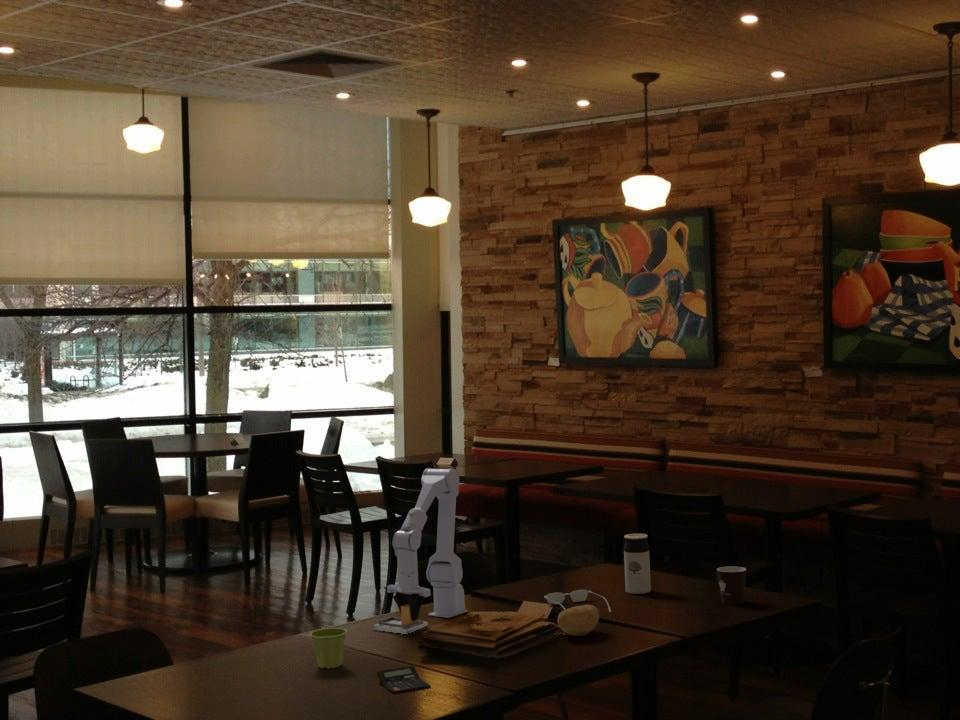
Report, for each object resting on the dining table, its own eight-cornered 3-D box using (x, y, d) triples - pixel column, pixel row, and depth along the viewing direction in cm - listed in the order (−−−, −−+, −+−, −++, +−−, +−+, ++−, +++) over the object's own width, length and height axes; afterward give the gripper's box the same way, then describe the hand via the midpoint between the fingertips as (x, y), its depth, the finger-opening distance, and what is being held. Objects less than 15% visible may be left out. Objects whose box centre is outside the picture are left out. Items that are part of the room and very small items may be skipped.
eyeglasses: (590, 601, 366) (589, 588, 366) (614, 613, 349) (614, 599, 349) (544, 606, 361) (543, 594, 361) (566, 619, 344) (565, 605, 344)
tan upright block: (410, 622, 339) (409, 602, 339) (418, 623, 338) (417, 603, 338) (401, 625, 336) (400, 605, 336) (409, 626, 334) (408, 606, 334)
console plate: (396, 622, 347) (396, 615, 347) (428, 627, 340) (427, 619, 340) (373, 630, 339) (373, 622, 339) (405, 634, 332) (405, 626, 331)
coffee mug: (750, 604, 350) (748, 571, 350) (721, 606, 350) (719, 572, 350) (742, 596, 361) (741, 564, 361) (714, 597, 362) (712, 565, 361)
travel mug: (633, 588, 380) (630, 532, 380) (655, 590, 376) (652, 534, 375) (621, 593, 374) (618, 536, 374) (643, 595, 369) (641, 538, 369)
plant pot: (318, 673, 296) (317, 638, 296) (306, 664, 304) (305, 631, 304) (353, 667, 300) (352, 633, 300) (340, 659, 309) (339, 626, 309)
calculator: (393, 695, 275) (392, 682, 275) (377, 683, 286) (376, 670, 286) (430, 689, 279) (429, 676, 279) (413, 677, 290) (412, 665, 290)
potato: (610, 632, 325) (609, 603, 325) (577, 642, 315) (576, 613, 315) (582, 627, 332) (581, 598, 332) (550, 637, 322) (548, 608, 321)
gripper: (379, 572, 338) (381, 619, 338) (418, 576, 329) (420, 625, 329) (395, 568, 344) (397, 614, 344) (434, 572, 335) (436, 619, 335)
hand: (409, 619), depth 337 cm, fingers closed on tan upright block, 3 cm apart
